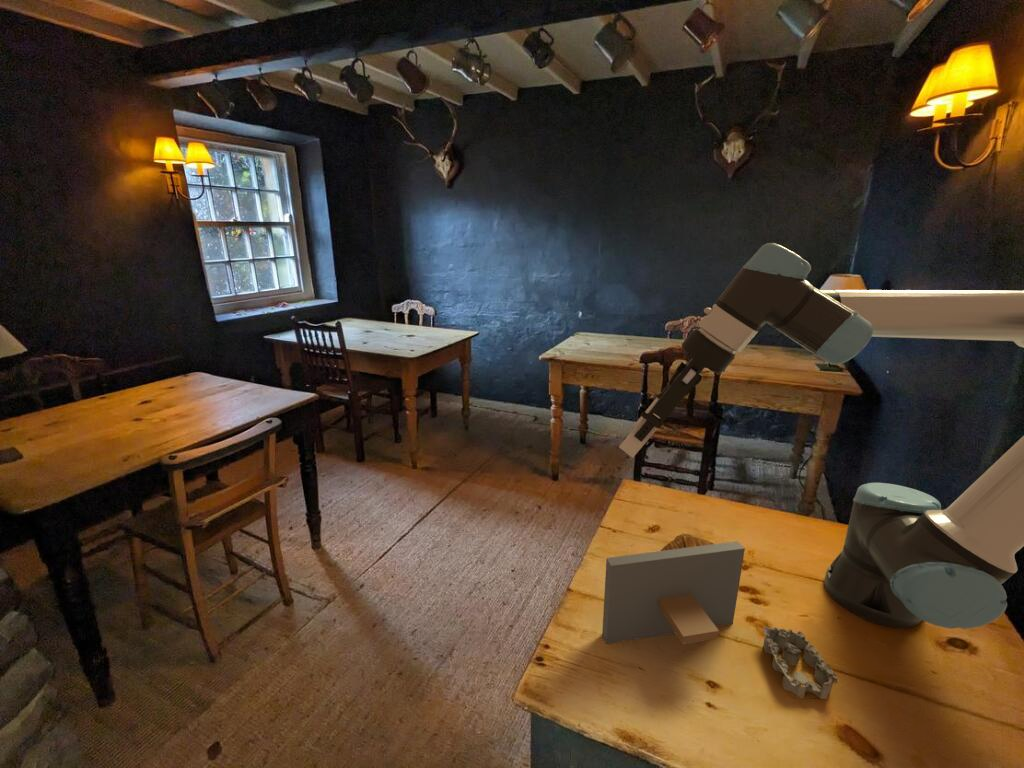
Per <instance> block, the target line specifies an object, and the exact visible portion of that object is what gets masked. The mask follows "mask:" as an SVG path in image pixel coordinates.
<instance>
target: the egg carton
mask: <svg viewBox="0 0 1024 768" xmlns="http://www.w3.org/2000/svg"><path fill="white" fill-rule="evenodd" d="M762 627H763V633H764V636H765V637H764V641H763V647H762V648H763V650H764V652H765V653H768V654H770V655H772V656H773V658H772V663H771V665H772V667H773V669H774V671H776V672H779V673H781V674H783V677H782V682H781V684H782V687H783V689H784V690H786V691H789V692H791V693H793V694H794V695H795V697H797V698H805V697H804V696H805V693H806V692H809V693H811V692H812V693H813V694H814V695H816V696H817V697H818V698H819V699H822V700H827V699H828V696H829V693H830V692H831V690H832V687H833V685H834V684H838V683H839V680H838V677H837V676H836V675H837V674H836V673H835V672H834V671H833V669H832V667H831V666H830V665H829V664H826V661H825V659H824V658H822V656H821V655H820V653H819V652H818V650H817V648H816V647H815V646H814V645H812V643H811V642H810V641H809V640H807V639H806V636H805V634H804V633H803V632H802V631H798V632H793V630H792V629H784V628H778V627H773V628H771V627H768V626H765V625H763V626H762ZM780 648H781V649H783V650H782V655H781V658H778V657H779V652H780ZM801 650H803V651H804V652H803V656H802V658H803V661H804V662H805V663H806V664H807V665H808V666H811V667H812V668H814V669H815V670H814V679H815V681H816V682H814V681H811V680H809V678H808V676H807V675H806V674H804V673H803V672H801V671H796V670H795V671H793V672H792V677H790V676H789V671H790V668H789V667H788V665H789V666H793V667H794V666H798V664H799V660H800V656H801V653H802V651H801ZM817 682H818V683H819V684H818V683H817ZM802 685H804V686H802ZM821 685H822V686H821Z"/></svg>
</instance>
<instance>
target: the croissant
mask: <svg viewBox="0 0 1024 768" xmlns="http://www.w3.org/2000/svg"><path fill="white" fill-rule="evenodd" d="M712 544H715V543H713V542H712V541H709V540H707V539H704V538H701V537H696V536H693V535H692V534H689V533H681V534H679V535H677V536H676V537H674V539H673V540H671V541H670V542H669V543H668V544H665V545H664V546H663V547H662V549H660V551H664V550H672V549H680V548H688V547H696V546H704V545H712Z"/></svg>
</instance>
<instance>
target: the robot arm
mask: <svg viewBox="0 0 1024 768" xmlns="http://www.w3.org/2000/svg"><path fill="white" fill-rule="evenodd" d="M811 270H812V265H811V264H810V263H809V262H808V261H807V260H805V259H804V258H802V256H800V255H798V254H797V253H796V252H794V251H791V250H790V249H788V248H786V247H784V246H782V245H781V244H778V243H775V242H767V243H764V244H763V245H761V246H760V247H759V248H758V250H757V251H756V252H755V253H754V254H753V255H752V256H751V258H750V259H749V260H748V261H746V263H745V264H744V265H743V266H742V268H741V269H740V270H739V272H737V274H736V276H735V277H734V278H733V279H732V281H731V282H730V283H729V284H728V286H727V287H726V288H725V290H724V291H723V292H722V293H721V295H720V296H719V297H718V299H717V300H716V301H715V303H714V304H713V305H712V308H711V307H708V306H707V307H706V308H704V309H703V312H704V314H706V315H704V316H703V318H702V319H701V320H700V322H699V323H698V326H699V328H694V329H692V331H691V332H690V333H689V335H688V336H687V337H686V338H684V339H685V340H684V341H683V342H682V343H681V349H682V350H683V352H684V353H685V354H687V355H688V356H689V357H688V360H687V361H686V362H685V361H681V362H680V364H679V365H678V366H677V368H676V369H675V370H674V373H673V374H672V376H671V378H670V379H669V381H668V382H667V383H666V386H665V387H663V388H662V389H661V392H660V393H659V394H658V397H655V399H654V400H653V401H652V402H651V403H650V405H649V406H648V408H647V409H646V410H645V411H642V412H641V413H640V415H639V416H640V417H639V418H638V420H637V421H636V422H635V423H634V426H635V427H634V428H633V429H632V430H631V432H630V433H629V434H628V435H627V436H626V437H625V438H624V440H623V441H622V442H621V444H620V445H619V446H618V448H619V449H621V450H622V451H623V452H625V454H627V455H629V457H631V458H632V459H633V458H634V457H635V456H636V455H637V454H638V453H639V451H640V450H641V449H642V448H643V446H644V445H645V444H646V443H647V442H648V441H649V439H651V437H652V436H653V435H654V433H655V432H656V431H658V429H659V428H661V427H662V426H663V424H664V422H665V421H666V420H667V418H668V417H669V416H670V415H671V413H673V411H674V410H675V409H676V407H677V406H678V405H679V404H680V403H681V401H682V400H683V399H684V398H686V397H687V396H688V395H689V394H690V392H691V391H692V390H693V388H695V387H697V385H698V384H700V382H701V380H703V375H702V374H701V373H702V371H703V370H704V369H708V370H710V371H711V372H713V373H714V374H723V372H724V371H725V370H727V368H728V367H729V365H730V364H731V363H732V362H733V361H734V359H736V357H735V356H736V354H735V353H741V352H742V351H743V350H744V349H745V348H746V346H747V345H748V344H749V343H750V342H751V340H753V338H755V336H756V335H757V334H758V332H759V331H760V330H761V328H763V326H764V325H766V324H768V325H769V326H770V327H772V328H774V329H776V330H777V331H779V332H780V333H782V334H783V335H784V336H786V338H787V337H788V338H789V339H790V340H792V341H793V342H795V343H796V344H797V345H800V346H801V347H802V348H804V349H806V351H809V352H810V353H812V354H813V356H814V357H818V358H820V359H821V360H824V361H825V362H827V363H828V364H831V365H840V364H844V363H846V362H848V361H850V360H851V359H853V358H855V357H856V356H857V355H858V354H859V353H860V352H862V351H863V350H864V348H865V347H866V346H867V345H868V344H869V342H870V340H871V339H872V337H875V338H876V337H877V338H878V337H879V338H907V339H935V340H936V339H939V340H940V339H941V340H942V339H943V340H966V341H969V340H971V341H999V342H1000V341H1002V342H1005V341H1006V342H1014V343H1015V344H1016V345H1017V346H1018V347H1021V348H1024V289H1023V290H950V289H949V290H948V289H947V290H945V289H944V290H941V289H940V290H938V289H936V290H928V289H927V290H922V289H921V290H919V289H918V290H916V289H914V290H911V289H906V290H903V289H902V290H901V289H900V290H898V289H897V290H894V289H891V290H887V289H886V290H885V289H884V290H882V289H869V290H867V289H860V290H859V289H835V290H828V289H825V290H824V289H818V288H816V287H815V286H813V284H811V283H810V282H809V281H808V280H806V279H807V278H808V275H809V274H810V272H811ZM852 502H853V504H852V508H851V512H850V516H849V521H848V525H847V529H846V534H845V538H844V545H843V548H842V550H841V552H839V553H838V555H837V556H836V557H835V559H834V560H833V561H832V563H830V565H829V566H828V567H827V569H826V572H825V577H824V581H823V582H824V587H825V590H826V592H827V593H828V594H829V595H830V596H831V598H833V600H834V601H835V602H837V603H838V604H839V605H840V606H841V607H843V608H845V609H846V610H847V611H849V612H851V613H852V614H854V615H856V616H858V617H859V618H862V619H864V620H867V621H868V622H871V623H875V624H879V625H882V626H886V627H890V628H898V629H901V628H902V629H906V628H913V627H915V626H917V625H919V624H920V623H921V622H922V621H923V622H925V623H928V624H931V625H933V626H936V627H941V628H945V629H956V628H959V629H963V630H967V629H968V630H969V629H976V628H980V627H985V626H987V625H989V624H991V623H993V622H995V621H996V620H998V619H999V618H1000V617H1001V616H1002V615H1003V614H1004V613H1005V612H1006V609H1007V607H1008V602H1007V598H1008V596H1007V592H1006V590H1005V588H1004V586H1003V585H1002V584H1004V583H1005V582H1006V581H1007V580H1009V579H1010V578H1011V577H1012V576H1013V575H1014V574H1016V573H1017V571H1018V565H1017V561H1016V559H1015V554H1017V552H1018V551H1020V550H1021V549H1022V548H1023V547H1024V435H1022V437H1020V438H1019V440H1017V441H1016V442H1015V443H1014V444H1013V445H1012V446H1011V447H1010V448H1009V449H1008V450H1007V451H1006V452H1004V454H1002V455H1001V457H1000V458H998V459H997V460H996V461H995V462H994V463H993V464H992V465H991V466H990V467H989V468H988V469H987V470H986V471H985V472H984V473H983V474H982V475H981V476H979V478H977V479H976V480H975V481H974V482H973V483H972V484H970V485H969V487H967V489H966V490H965V491H964V492H963V493H962V494H960V495H959V496H958V497H957V499H955V500H954V501H953V502H952V503H951V504H950V505H949V506H947V508H945V509H942V505H941V502H940V501H939V500H938V499H937V498H935V497H934V496H932V495H930V494H928V493H926V492H923V491H921V490H918V489H915V488H911V487H908V486H904V485H900V484H893V483H885V482H868V483H864V484H861V485H859V487H858V488H857V490H856V493H855V496H854V497H853V499H852Z"/></svg>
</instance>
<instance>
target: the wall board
mask: <svg viewBox="0 0 1024 768" xmlns="http://www.w3.org/2000/svg"><path fill="white" fill-rule="evenodd" d="M745 550H746V548H745V547H744V546H743V545H742V544H741V543H740V542H739V541H738V540H737V541H729V542H720V543H714V544H712V545H704V546H696V547H688V548H680V549H672V550H664V551H661V550H657V551H651V552H642V553H635V554H627V555H618V556H611V557H606V561H605V563H606V564H605V579H604V598H603V617H602V631H601V632H602V634H601V635H602V637H603V639H604V641H605V644H606V645H607V644H614V643H619V642H621V643H622V642H625V641H633V640H638V639H644V638H653V637H657V636H664V635H669V634H670V635H671V634H675V635H676V636H677V638H678V639H679V641H680V642H681V644H682V645H685V644H691V643H692V644H693V643H698V642H705V641H709V640H716V639H719V633H720V630H719V629H718V627H722V626H726V625H727V626H728V625H733V624H734V619H735V612H736V607H737V606H736V605H737V599H738V594H739V589H740V588H739V587H740V581H741V575H742V568H743V563H744V557H745Z"/></svg>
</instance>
